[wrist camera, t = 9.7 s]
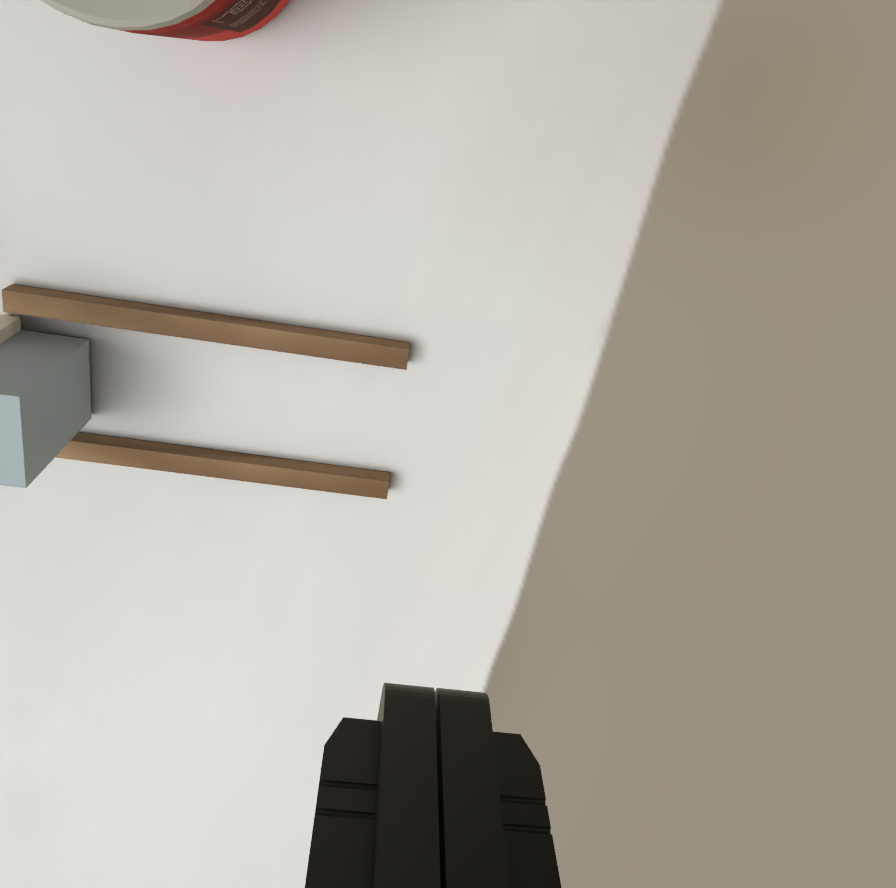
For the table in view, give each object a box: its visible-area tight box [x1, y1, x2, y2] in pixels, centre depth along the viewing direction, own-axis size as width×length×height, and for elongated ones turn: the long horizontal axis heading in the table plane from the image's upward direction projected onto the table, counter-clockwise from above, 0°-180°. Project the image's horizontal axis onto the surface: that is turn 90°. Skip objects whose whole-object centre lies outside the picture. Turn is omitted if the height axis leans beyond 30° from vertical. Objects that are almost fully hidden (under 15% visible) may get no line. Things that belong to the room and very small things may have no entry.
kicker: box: [0, 315, 91, 488], centre depth 34 cm, size 5×4×7 cm
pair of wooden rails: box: [2, 284, 410, 499], centre depth 37 cm, size 8×18×1 cm, turn 81°
